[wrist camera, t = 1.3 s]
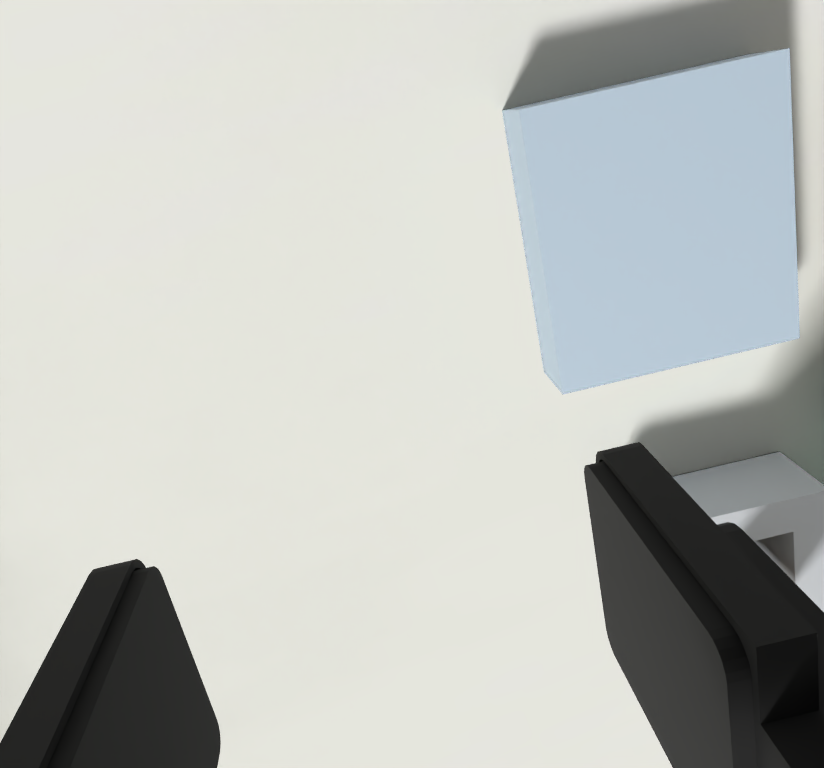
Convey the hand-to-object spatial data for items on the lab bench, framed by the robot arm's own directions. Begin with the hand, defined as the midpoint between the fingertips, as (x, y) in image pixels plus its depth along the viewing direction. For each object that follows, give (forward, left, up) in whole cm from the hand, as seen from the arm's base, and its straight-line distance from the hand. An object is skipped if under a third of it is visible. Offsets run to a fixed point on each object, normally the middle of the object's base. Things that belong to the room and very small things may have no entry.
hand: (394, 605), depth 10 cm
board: (0, +11, -20) cm, 23 cm away
